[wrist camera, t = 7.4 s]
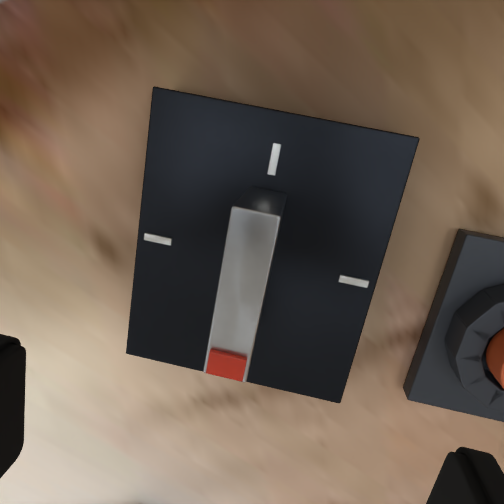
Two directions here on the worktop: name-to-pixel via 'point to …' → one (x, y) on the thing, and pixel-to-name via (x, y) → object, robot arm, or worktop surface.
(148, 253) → the tap deck
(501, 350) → the button
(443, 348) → the button block
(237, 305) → the lever
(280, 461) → the worktop surface
